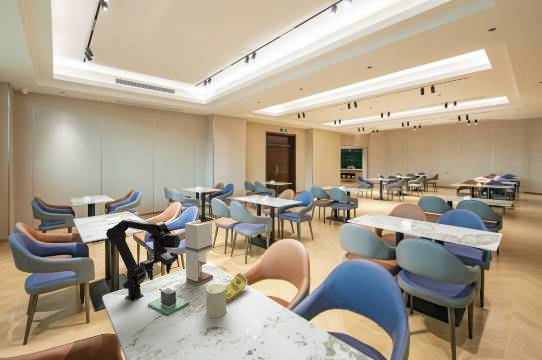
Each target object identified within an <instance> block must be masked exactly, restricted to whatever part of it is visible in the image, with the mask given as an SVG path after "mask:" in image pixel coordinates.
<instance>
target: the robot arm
mask: <svg viewBox="0 0 542 360" xmlns="http://www.w3.org/2000/svg"><path fill="white" fill-rule="evenodd" d="M129 229H135V230H139V231H145V232H146V233H148V234H150V235H149V236H148V239H151V240H152V249H151V252H153V253H152V254H153V256H152V257H151V260H148V259H145V260H142V261H140V263H138V264H137V262H136V260H135V257H134V256H133V254H132V251H131V249H130V246H129V245H128V243H127V240H126V237H127V232H126V231H127V230H129ZM105 235H106V237H107V239H108V241H109V242H110V243H112V244H113V245H115V247H116V249H117V251H118V253H119V256H120V258H121V260H122V262H123V263H124V265H125V268H126V279H127V280H126V282H124V284H123V288H124V290H127V292H128V293H127V295H126V296H125V297H124V298H125V299H126V300H128V301H131V302H132V301H134V300H135V301H136V300H138V299H139V298H141V297H144V294H143V293H142V292H141V284H142V283H144V280H146V276H148V277H149V279H150V281H153V279H154V273H153V272H154V269H155V268H154V265H156V264H159V263H161V264H162V265H163V266H165V271H166V274H170V271H171V268H172V266H173V263H174V262H176V261H177V260H178V259H179V255H178V253H177V252H175V251H170V252H169V251H168V249H169V248H170V249H178V248H179V247H180V245H181V239H180V236H178V234H177V233H174V234H173V233H172V232H171V230H170V229H169V228H168V227H167V224H166V223H165V222H164V221H152V222H151V221H150V222H149V221H143V220H137V219H132V218H125V219H122V220H121V221H119V222H118V223H117V224H115V225H114V226H112V227H110V228H108V229H107V230H106V233H105Z"/></svg>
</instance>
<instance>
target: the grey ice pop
mask: <svg viewBox="0 0 542 360" xmlns="http://www.w3.org/2000/svg"><path fill="white" fill-rule="evenodd" d="M158 290H159V291H160V298H161V303H163V304H165V305H167V306H171V305H173V304H175V303H176V297H177V290H174V289H171V288H170V287H166V288H164V289H162V288H159V289H158Z"/></svg>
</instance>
